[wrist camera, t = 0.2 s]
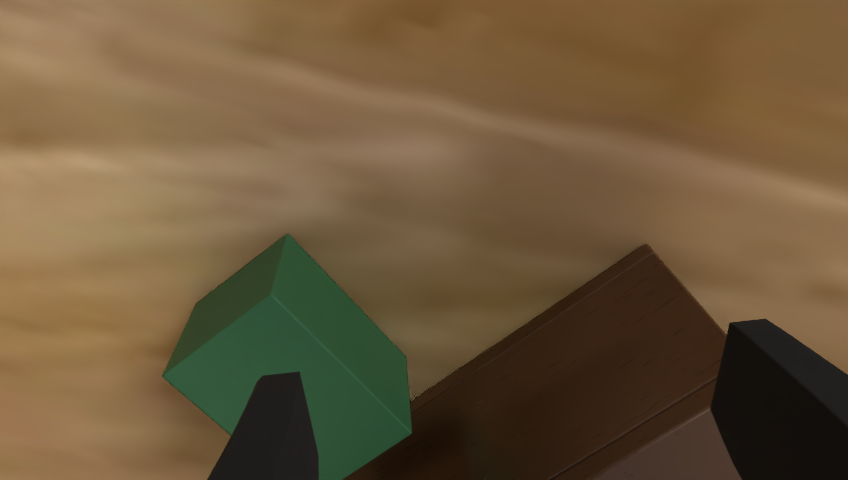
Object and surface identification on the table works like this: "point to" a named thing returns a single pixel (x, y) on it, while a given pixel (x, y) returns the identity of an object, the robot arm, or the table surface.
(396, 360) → the snack box
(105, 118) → the table surface
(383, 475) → the cabinet
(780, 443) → the robot arm
